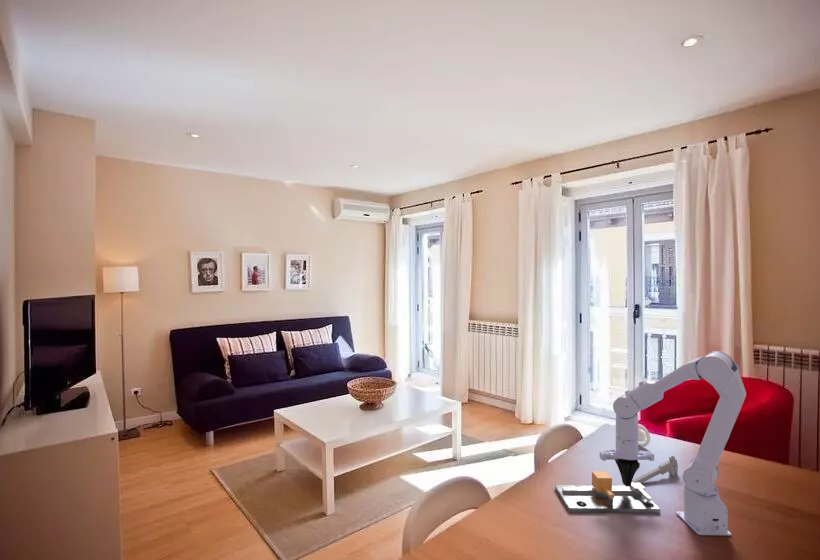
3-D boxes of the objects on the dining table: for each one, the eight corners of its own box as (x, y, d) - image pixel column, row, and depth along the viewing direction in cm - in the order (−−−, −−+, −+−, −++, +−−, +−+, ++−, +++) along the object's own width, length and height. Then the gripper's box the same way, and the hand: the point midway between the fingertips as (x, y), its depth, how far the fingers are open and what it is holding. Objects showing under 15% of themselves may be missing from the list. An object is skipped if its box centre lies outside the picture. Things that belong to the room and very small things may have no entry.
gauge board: (660, 513, 112) (660, 500, 112) (569, 512, 113) (569, 499, 112) (637, 489, 124) (637, 478, 124) (555, 489, 125) (555, 477, 124)
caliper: (674, 474, 134) (674, 454, 134) (677, 475, 133) (677, 456, 133) (627, 486, 126) (627, 466, 126) (630, 488, 125) (630, 467, 125)
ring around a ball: (653, 449, 152) (653, 427, 152) (642, 452, 150) (642, 429, 149) (633, 441, 159) (633, 420, 159) (622, 443, 157) (623, 422, 157)
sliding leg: (619, 504, 114) (619, 486, 113) (604, 504, 114) (604, 486, 114) (605, 488, 122) (605, 471, 122) (591, 487, 122) (591, 471, 122)
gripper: (645, 432, 123) (644, 477, 124) (595, 431, 124) (595, 477, 124) (658, 441, 116) (658, 490, 117) (605, 441, 117) (605, 489, 117)
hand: (626, 484), depth 120 cm, fingers closed
